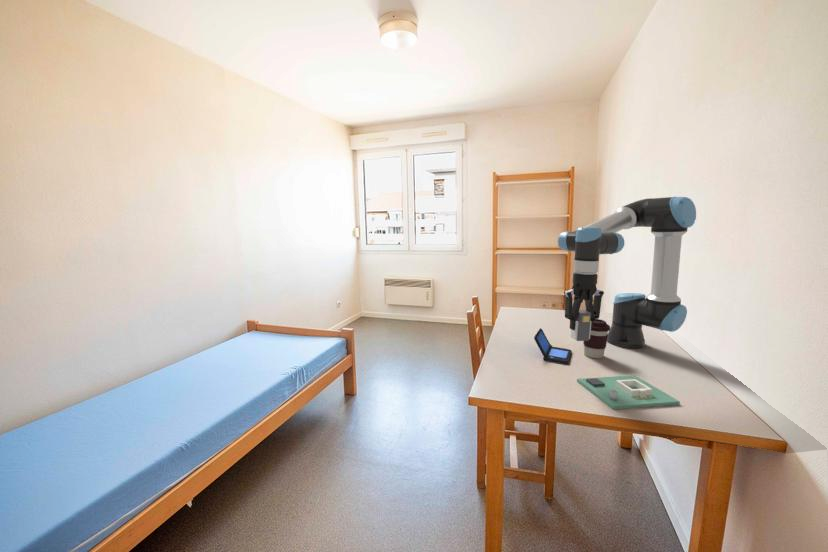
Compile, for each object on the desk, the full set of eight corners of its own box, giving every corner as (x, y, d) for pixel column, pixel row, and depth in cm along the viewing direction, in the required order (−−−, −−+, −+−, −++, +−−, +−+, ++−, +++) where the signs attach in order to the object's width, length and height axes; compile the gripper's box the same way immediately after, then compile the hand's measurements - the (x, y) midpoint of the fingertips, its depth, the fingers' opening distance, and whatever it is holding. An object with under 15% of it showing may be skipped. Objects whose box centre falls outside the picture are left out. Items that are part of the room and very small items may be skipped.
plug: (582, 336, 121) (584, 309, 120) (590, 341, 117) (592, 313, 115) (571, 337, 121) (573, 310, 119) (579, 341, 116) (581, 313, 115)
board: (634, 377, 121) (635, 368, 120) (679, 404, 103) (680, 394, 102) (576, 381, 118) (577, 372, 117) (613, 409, 100) (614, 398, 100)
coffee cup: (606, 353, 143) (609, 319, 141) (608, 361, 134) (611, 325, 132) (580, 349, 147) (582, 316, 145) (580, 357, 139) (583, 322, 136)
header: (634, 384, 113) (635, 379, 113) (653, 396, 106) (653, 390, 106) (615, 386, 112) (615, 380, 112) (632, 397, 105) (633, 391, 105)
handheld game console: (567, 365, 132) (569, 343, 130) (532, 359, 138) (533, 337, 137) (571, 352, 145) (573, 331, 143) (539, 347, 152) (540, 327, 150)
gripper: (601, 270, 120) (596, 333, 124) (556, 271, 118) (551, 335, 122) (616, 273, 113) (610, 340, 116) (567, 274, 111) (563, 342, 115)
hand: (580, 338), depth 119 cm, fingers closed on plug, 4 cm apart
